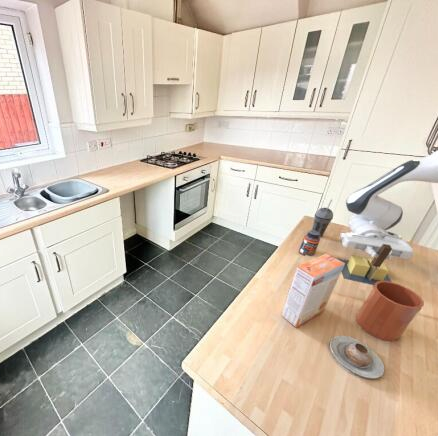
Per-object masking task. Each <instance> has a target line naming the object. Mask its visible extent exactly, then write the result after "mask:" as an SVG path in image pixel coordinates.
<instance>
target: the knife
mask: <svg viewBox="0 0 438 436" xmlns="http://www.w3.org/2000/svg"><path fill="white" fill-rule="evenodd" d="M391 250H392V248H391V246H390V245H387V244H383V245H382V246H381V248H380V249H379V251H378V252H379V256H378V258H375V257H373V258H372V259H373V260H372V262H371V264H370V265H369V266H370V268H369V270H368V272H367V274H366V275H367V278H368V280H369V281H370V280H371V279H372V277H373V276H374V275H375V273H376V272H377V270H378V268H377V267H380V266H381V265H382V263H383V262H384V263H385V259H386V257H387V256H388V254H389V253H390V251H391Z"/></svg>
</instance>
